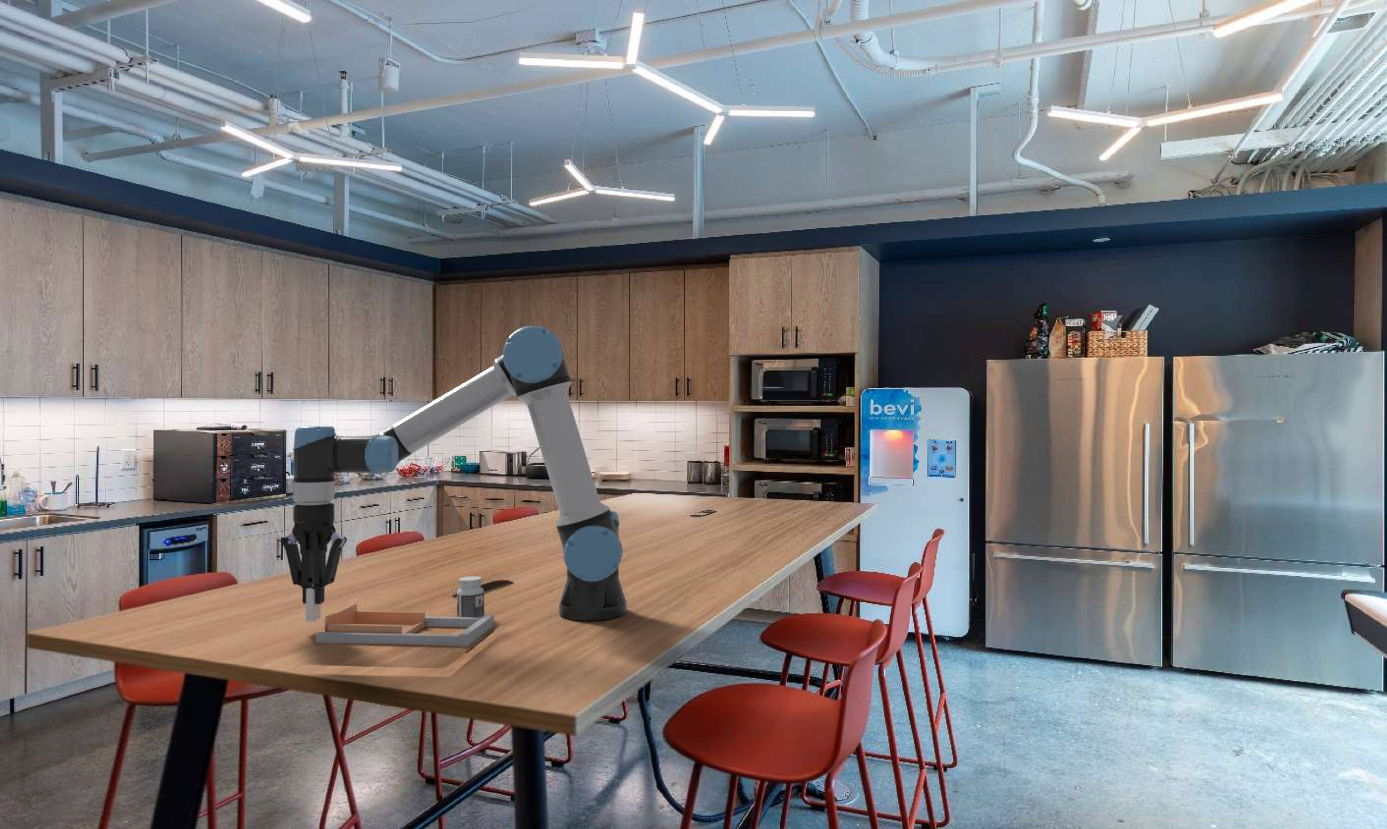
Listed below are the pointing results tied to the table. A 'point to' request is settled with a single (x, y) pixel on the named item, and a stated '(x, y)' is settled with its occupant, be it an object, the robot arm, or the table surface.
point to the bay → (463, 639)
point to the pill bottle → (470, 597)
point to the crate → (374, 621)
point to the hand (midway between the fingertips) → (313, 619)
